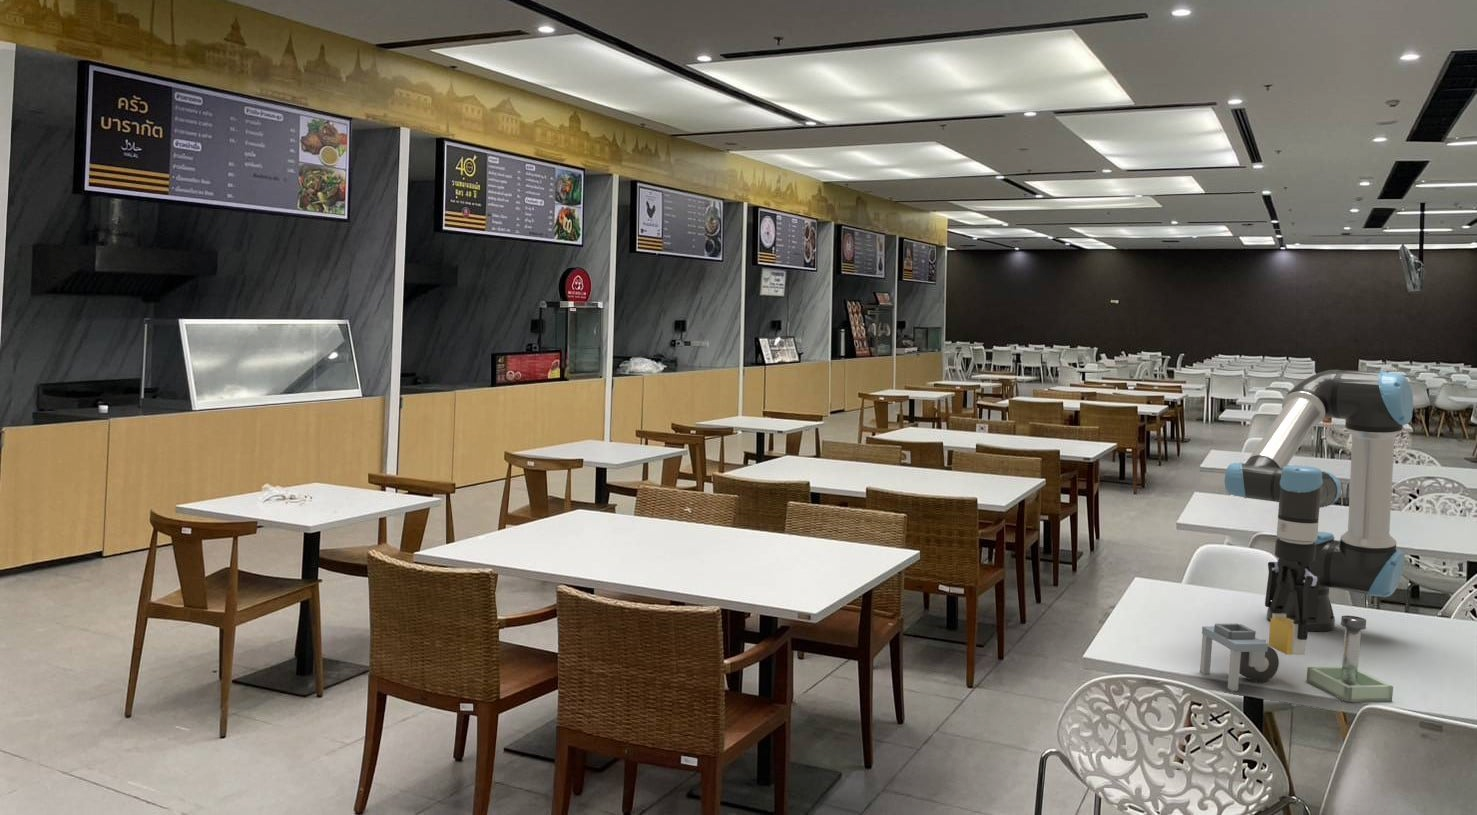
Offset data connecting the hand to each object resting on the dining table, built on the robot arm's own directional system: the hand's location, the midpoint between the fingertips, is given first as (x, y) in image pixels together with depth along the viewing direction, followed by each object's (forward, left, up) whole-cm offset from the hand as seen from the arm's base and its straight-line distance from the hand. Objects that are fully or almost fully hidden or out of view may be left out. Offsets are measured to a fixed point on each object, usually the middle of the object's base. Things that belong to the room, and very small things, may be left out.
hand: (1287, 648), depth 221 cm
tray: (-9, +7, -7) cm, 13 cm away
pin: (-9, +7, -6) cm, 13 cm away
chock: (0, 0, 0) cm, 0 cm away
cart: (+9, 0, -7) cm, 11 cm away
